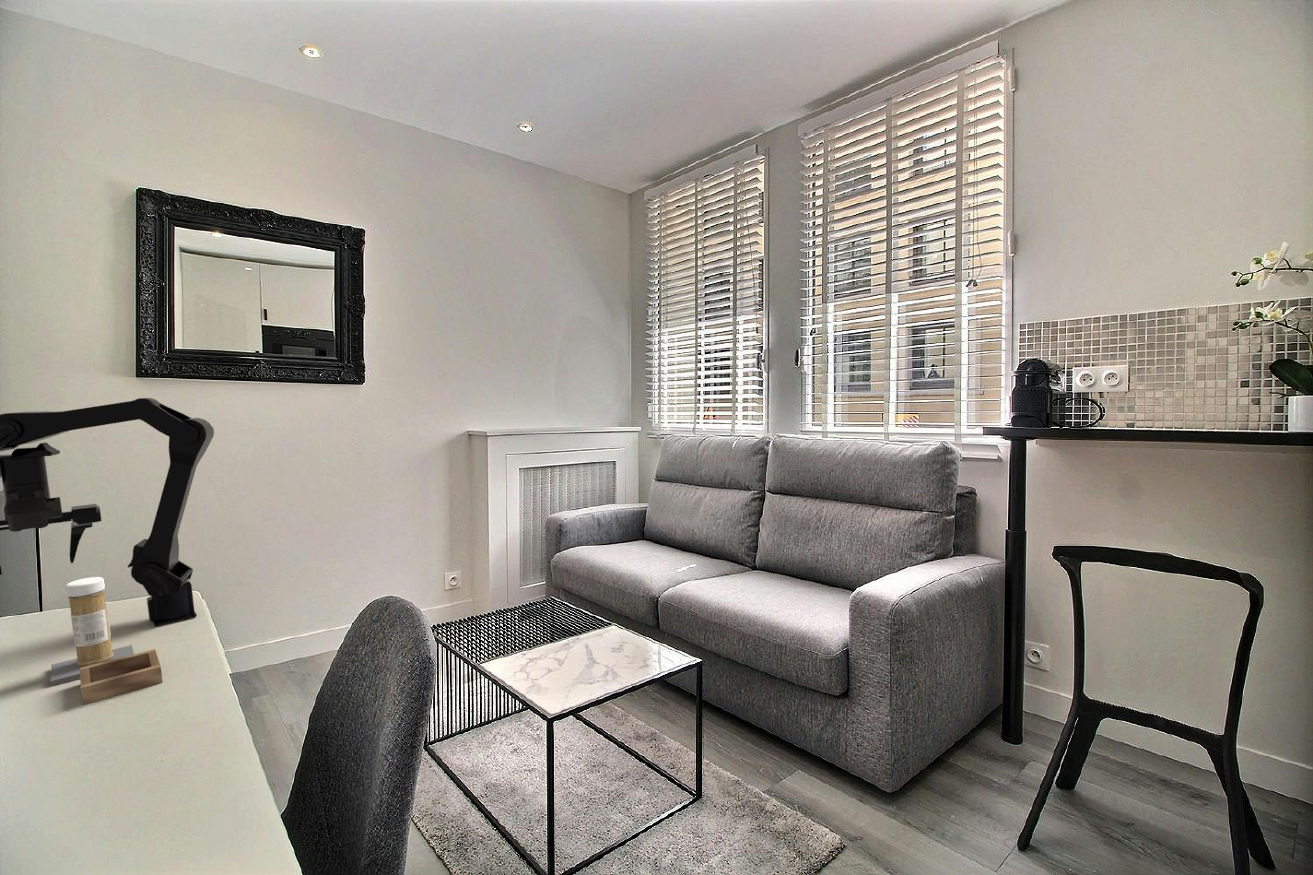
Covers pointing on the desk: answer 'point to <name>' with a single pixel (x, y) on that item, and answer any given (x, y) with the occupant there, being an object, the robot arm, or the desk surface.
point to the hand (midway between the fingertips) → (37, 568)
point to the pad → (72, 670)
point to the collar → (119, 676)
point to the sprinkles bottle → (90, 620)
